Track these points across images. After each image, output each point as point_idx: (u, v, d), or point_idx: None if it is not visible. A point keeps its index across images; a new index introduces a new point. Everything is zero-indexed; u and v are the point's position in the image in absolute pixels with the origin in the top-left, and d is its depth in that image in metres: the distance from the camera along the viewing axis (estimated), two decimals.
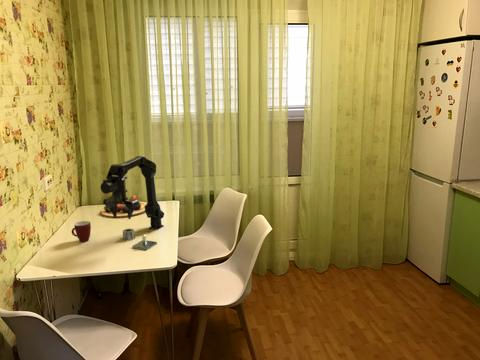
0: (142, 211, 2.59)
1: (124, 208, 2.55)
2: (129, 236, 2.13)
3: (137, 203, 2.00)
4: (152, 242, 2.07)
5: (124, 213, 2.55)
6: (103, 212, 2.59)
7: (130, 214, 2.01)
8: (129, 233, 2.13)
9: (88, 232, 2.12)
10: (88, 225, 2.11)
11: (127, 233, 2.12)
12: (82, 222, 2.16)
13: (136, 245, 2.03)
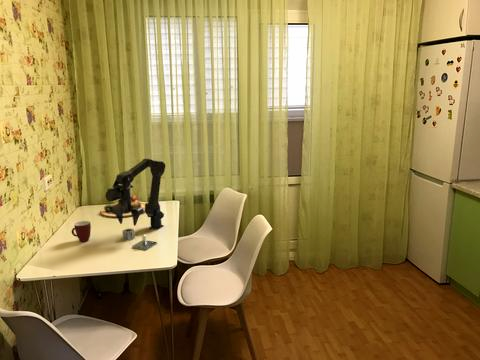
0: None
1: None
2: (129, 236, 2.13)
3: (142, 210, 2.10)
4: (152, 242, 2.07)
5: (124, 213, 2.55)
6: (103, 212, 2.59)
7: (135, 221, 2.12)
8: (129, 233, 2.13)
9: (88, 232, 2.12)
10: (88, 225, 2.11)
11: (127, 233, 2.12)
12: (82, 222, 2.16)
13: (136, 245, 2.03)
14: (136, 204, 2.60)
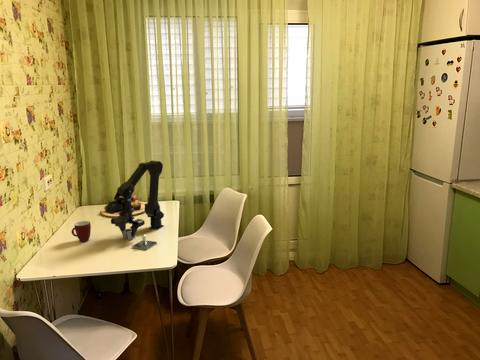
0: (142, 211, 2.59)
1: None
2: (129, 236, 2.13)
3: (143, 223, 2.12)
4: (152, 242, 2.07)
5: None
6: (103, 212, 2.59)
7: (134, 232, 2.14)
8: (129, 233, 2.13)
9: (88, 232, 2.12)
10: (88, 225, 2.11)
11: (127, 233, 2.12)
12: (82, 222, 2.16)
13: (136, 245, 2.03)
14: (136, 204, 2.60)
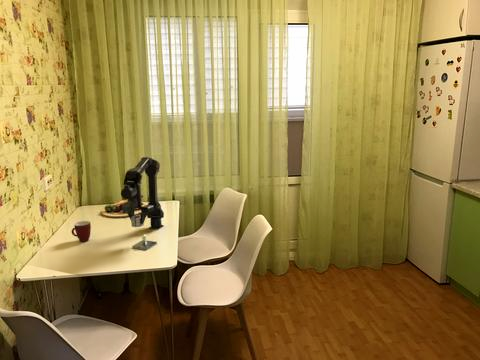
0: None
1: None
2: (138, 223, 2.03)
3: (152, 208, 2.01)
4: (152, 242, 2.07)
5: (124, 213, 2.55)
6: (103, 212, 2.59)
7: (143, 219, 2.03)
8: (138, 219, 2.02)
9: (88, 232, 2.12)
10: (88, 225, 2.11)
11: (136, 219, 2.02)
12: (82, 222, 2.16)
13: (136, 245, 2.03)
14: None
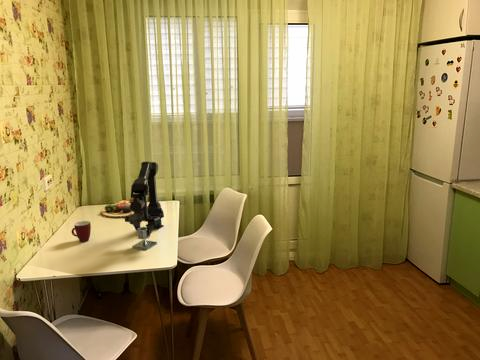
0: None
1: (125, 208, 2.55)
2: (144, 235, 2.01)
3: (159, 220, 2.00)
4: (152, 242, 2.07)
5: (125, 213, 2.55)
6: (104, 212, 2.59)
7: (150, 231, 2.02)
8: (144, 232, 2.00)
9: (88, 232, 2.12)
10: (88, 225, 2.11)
11: (142, 232, 2.00)
12: (82, 222, 2.16)
13: (136, 245, 2.03)
14: None
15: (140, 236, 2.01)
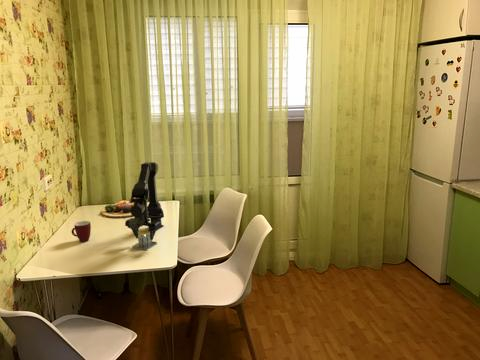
0: None
1: (125, 208, 2.55)
2: (145, 242, 2.02)
3: (159, 225, 2.00)
4: (152, 242, 2.07)
5: (125, 213, 2.55)
6: (104, 212, 2.59)
7: (152, 236, 2.01)
8: (145, 239, 2.01)
9: (88, 232, 2.12)
10: (88, 225, 2.11)
11: (143, 239, 2.01)
12: (82, 222, 2.16)
13: (136, 245, 2.03)
14: None
15: (141, 243, 2.02)
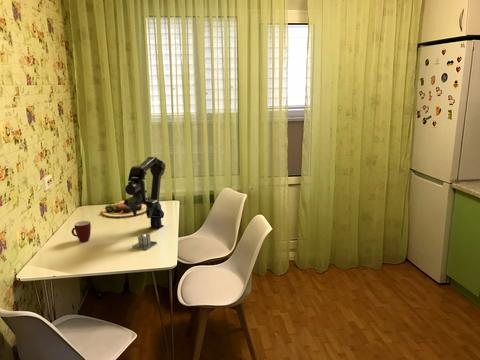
0: (143, 211, 2.58)
1: (125, 208, 2.55)
2: (145, 242, 2.02)
3: (157, 203, 2.10)
4: (152, 242, 2.07)
5: (125, 213, 2.55)
6: (104, 212, 2.59)
7: (150, 213, 2.11)
8: (145, 239, 2.01)
9: (88, 232, 2.12)
10: (88, 225, 2.11)
11: (143, 239, 2.01)
12: (82, 222, 2.16)
13: (136, 245, 2.03)
14: None
15: (141, 243, 2.02)
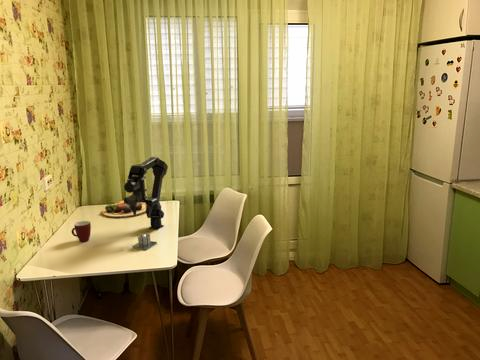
0: (143, 211, 2.58)
1: (125, 208, 2.55)
2: (145, 242, 2.02)
3: (156, 201, 2.11)
4: (152, 242, 2.07)
5: (125, 213, 2.55)
6: (104, 212, 2.59)
7: (149, 212, 2.13)
8: (145, 239, 2.01)
9: (88, 232, 2.12)
10: (88, 225, 2.11)
11: (143, 239, 2.01)
12: (82, 222, 2.16)
13: (136, 245, 2.03)
14: (137, 204, 2.59)
15: (141, 243, 2.02)
